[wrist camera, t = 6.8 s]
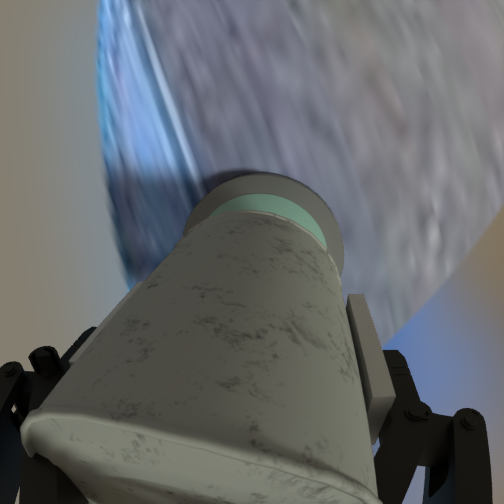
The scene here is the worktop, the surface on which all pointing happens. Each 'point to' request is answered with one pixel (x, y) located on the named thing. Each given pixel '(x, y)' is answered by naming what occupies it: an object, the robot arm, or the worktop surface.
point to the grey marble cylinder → (219, 380)
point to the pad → (274, 206)
